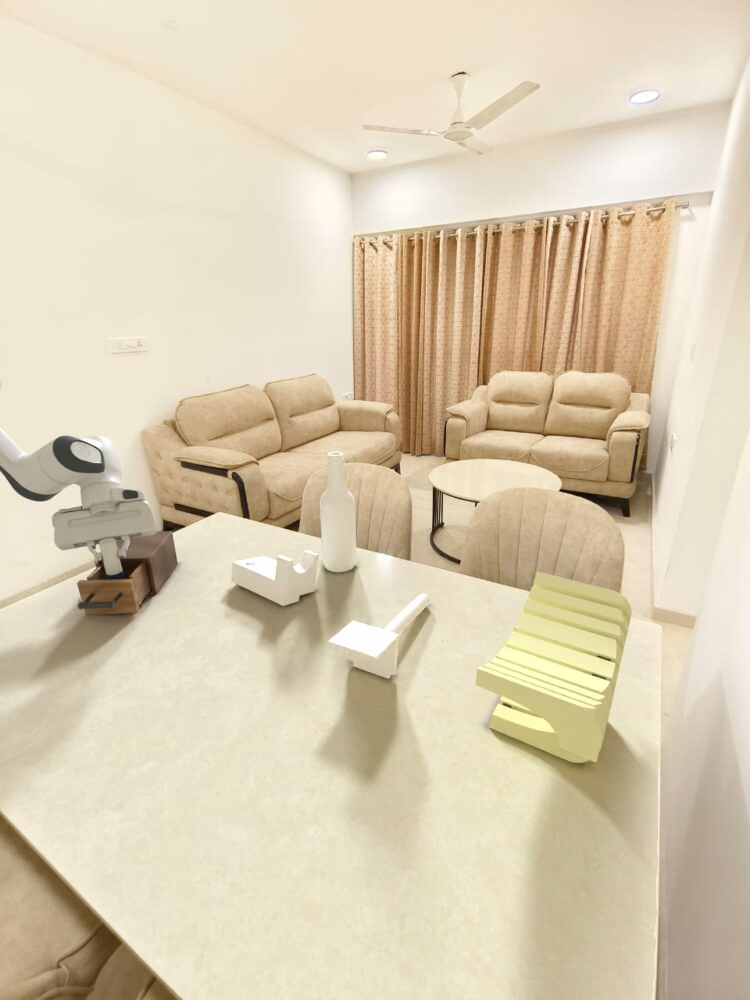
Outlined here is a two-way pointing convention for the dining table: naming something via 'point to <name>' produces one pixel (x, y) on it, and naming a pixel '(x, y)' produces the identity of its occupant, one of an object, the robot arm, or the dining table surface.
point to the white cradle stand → (277, 576)
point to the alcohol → (338, 519)
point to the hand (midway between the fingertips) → (111, 559)
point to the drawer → (115, 589)
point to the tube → (111, 559)
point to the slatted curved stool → (560, 668)
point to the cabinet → (153, 556)
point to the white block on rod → (378, 640)
